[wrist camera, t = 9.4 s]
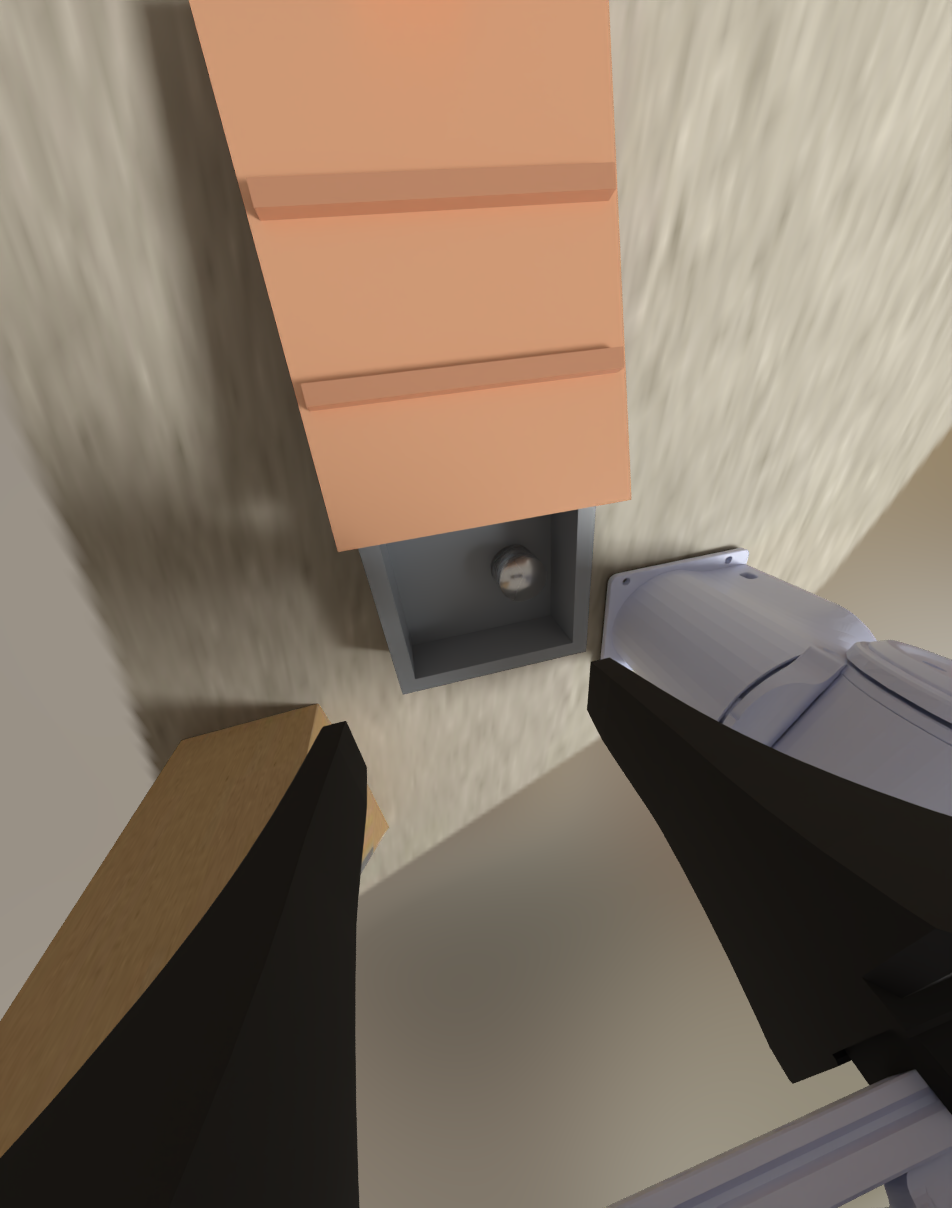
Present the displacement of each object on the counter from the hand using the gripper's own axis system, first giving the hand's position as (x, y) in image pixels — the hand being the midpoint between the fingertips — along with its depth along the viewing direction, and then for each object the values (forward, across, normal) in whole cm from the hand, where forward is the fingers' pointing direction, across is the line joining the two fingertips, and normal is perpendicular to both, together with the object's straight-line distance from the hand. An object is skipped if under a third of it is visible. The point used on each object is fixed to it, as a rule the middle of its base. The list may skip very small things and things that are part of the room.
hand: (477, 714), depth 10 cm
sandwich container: (+10, +12, +15) cm, 22 cm away
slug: (+9, -4, 0) cm, 10 cm away
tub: (+10, -2, -2) cm, 10 cm away
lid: (+7, -2, -12) cm, 15 cm away
